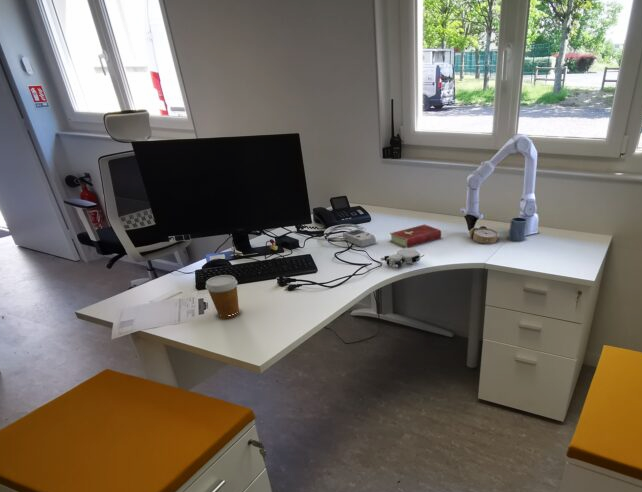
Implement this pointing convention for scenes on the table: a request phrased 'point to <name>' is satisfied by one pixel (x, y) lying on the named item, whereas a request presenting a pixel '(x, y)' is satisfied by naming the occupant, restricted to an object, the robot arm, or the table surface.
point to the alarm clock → (484, 235)
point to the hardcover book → (415, 235)
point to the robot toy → (402, 257)
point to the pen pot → (517, 229)
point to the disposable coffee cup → (224, 295)
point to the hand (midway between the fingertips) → (470, 230)
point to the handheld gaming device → (359, 237)
